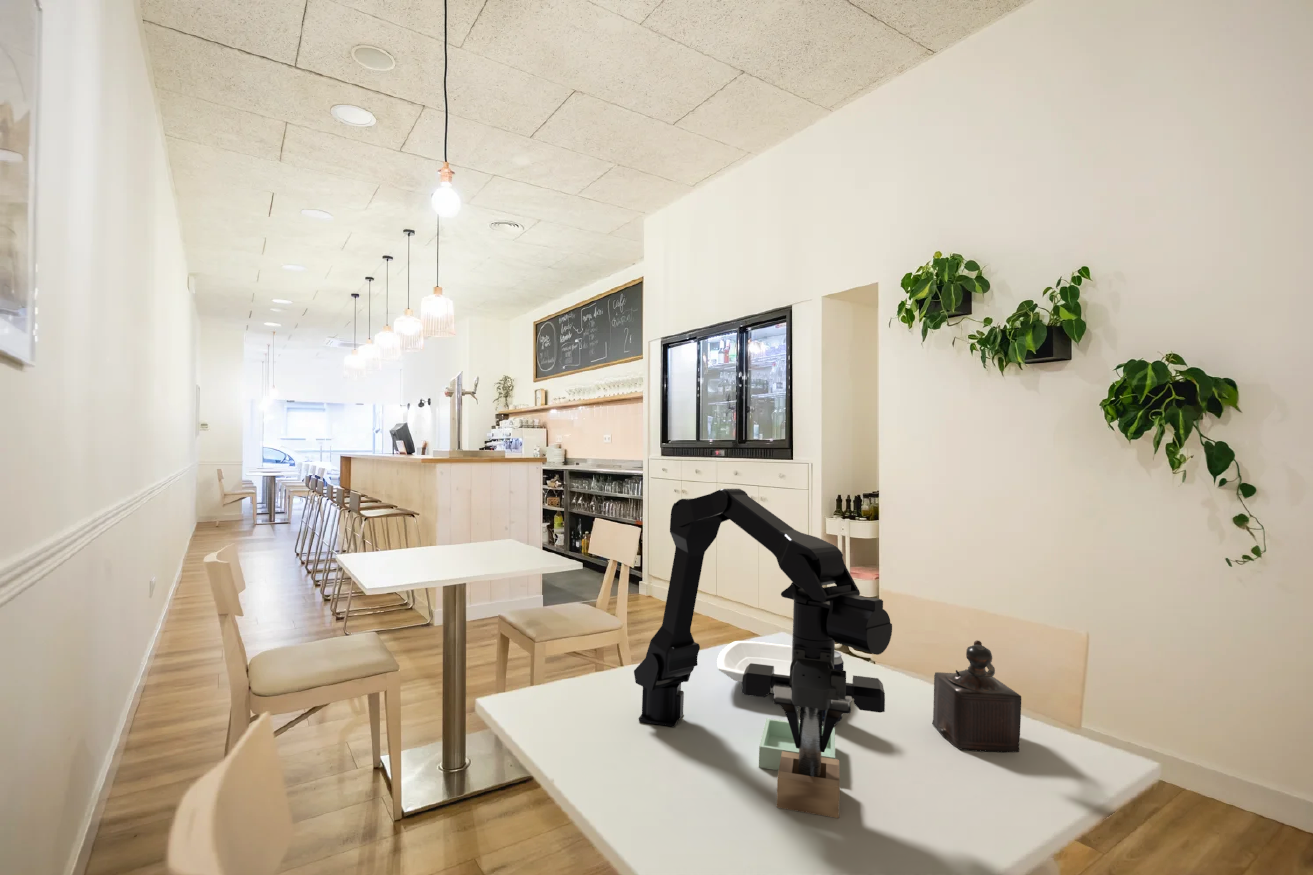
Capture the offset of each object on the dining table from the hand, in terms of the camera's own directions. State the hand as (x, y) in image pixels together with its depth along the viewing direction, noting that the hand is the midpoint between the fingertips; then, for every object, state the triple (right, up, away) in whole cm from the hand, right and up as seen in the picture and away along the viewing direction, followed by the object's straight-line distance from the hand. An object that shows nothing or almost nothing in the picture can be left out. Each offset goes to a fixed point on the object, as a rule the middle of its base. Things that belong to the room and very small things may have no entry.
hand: (810, 749), depth 90 cm
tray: (+1, -7, +12) cm, 14 cm away
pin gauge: (0, -3, 0) cm, 3 cm away
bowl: (+3, -8, +43) cm, 43 cm away
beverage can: (+9, -8, +26) cm, 29 cm away
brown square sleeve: (0, -7, 0) cm, 7 cm away
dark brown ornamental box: (+33, -9, +19) cm, 39 cm away
